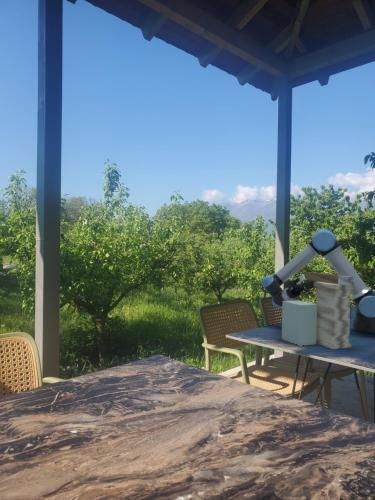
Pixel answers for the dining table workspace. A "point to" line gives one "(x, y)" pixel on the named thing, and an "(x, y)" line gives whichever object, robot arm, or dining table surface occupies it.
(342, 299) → the tall stand
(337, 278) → the brown grey bar
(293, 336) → the block
